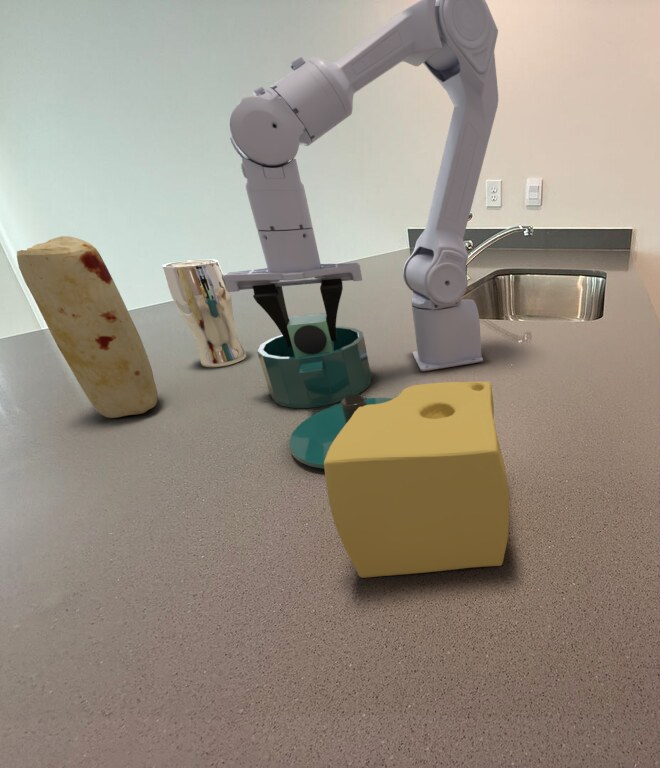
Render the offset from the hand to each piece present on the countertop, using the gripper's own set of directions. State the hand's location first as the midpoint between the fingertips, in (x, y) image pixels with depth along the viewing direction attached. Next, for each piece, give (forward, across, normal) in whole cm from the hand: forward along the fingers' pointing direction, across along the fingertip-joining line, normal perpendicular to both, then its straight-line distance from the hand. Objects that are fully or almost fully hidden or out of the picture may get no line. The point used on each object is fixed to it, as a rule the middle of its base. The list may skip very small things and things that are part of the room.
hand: (312, 341), depth 52 cm
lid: (+6, +4, -15) cm, 17 cm away
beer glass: (+7, -15, +17) cm, 24 cm away
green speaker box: (+1, 0, 0) cm, 1 cm away
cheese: (+7, +9, -31) cm, 33 cm away
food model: (+7, -22, +3) cm, 23 cm away
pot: (+6, 0, 0) cm, 6 cm away
